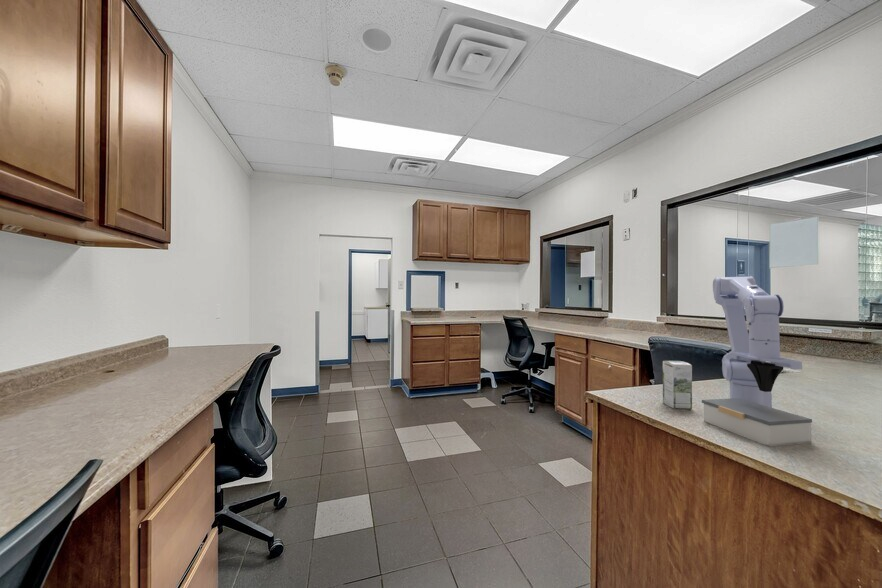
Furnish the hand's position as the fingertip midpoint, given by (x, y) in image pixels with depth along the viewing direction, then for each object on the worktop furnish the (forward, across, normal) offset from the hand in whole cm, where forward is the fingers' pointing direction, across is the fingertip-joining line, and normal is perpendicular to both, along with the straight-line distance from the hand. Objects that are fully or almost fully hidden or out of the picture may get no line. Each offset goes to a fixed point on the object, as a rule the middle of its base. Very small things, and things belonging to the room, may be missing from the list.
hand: (765, 391), depth 83 cm
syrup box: (+10, -20, -7) cm, 24 cm away
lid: (+6, 0, -5) cm, 7 cm away
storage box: (+10, 0, -4) cm, 11 cm away
